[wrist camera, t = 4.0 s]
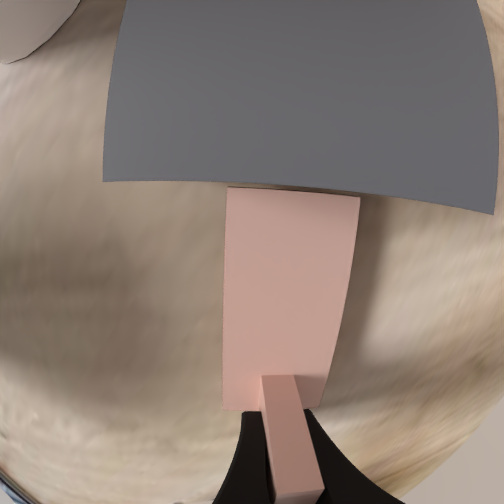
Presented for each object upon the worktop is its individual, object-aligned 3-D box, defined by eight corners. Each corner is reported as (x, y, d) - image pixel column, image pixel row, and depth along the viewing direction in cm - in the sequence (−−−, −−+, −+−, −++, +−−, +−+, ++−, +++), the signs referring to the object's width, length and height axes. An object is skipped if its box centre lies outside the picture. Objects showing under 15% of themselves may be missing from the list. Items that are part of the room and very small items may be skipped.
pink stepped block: (355, 195, 9) (479, 236, 3) (308, 428, 12) (334, 523, 6) (227, 186, 8) (215, 216, 3) (222, 431, 11) (223, 532, 6)
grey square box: (388, 11, 8) (459, -44, 3) (390, 190, 10) (493, 217, 5) (191, -17, 7) (171, -106, 2) (169, 175, 9) (102, 185, 4)
